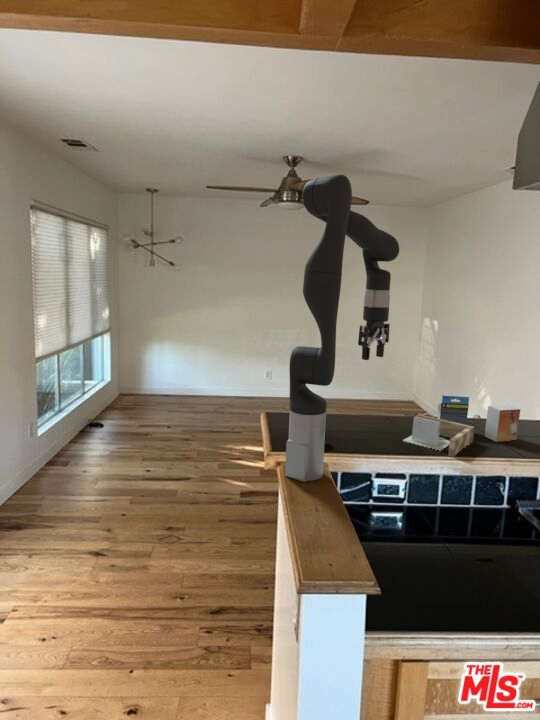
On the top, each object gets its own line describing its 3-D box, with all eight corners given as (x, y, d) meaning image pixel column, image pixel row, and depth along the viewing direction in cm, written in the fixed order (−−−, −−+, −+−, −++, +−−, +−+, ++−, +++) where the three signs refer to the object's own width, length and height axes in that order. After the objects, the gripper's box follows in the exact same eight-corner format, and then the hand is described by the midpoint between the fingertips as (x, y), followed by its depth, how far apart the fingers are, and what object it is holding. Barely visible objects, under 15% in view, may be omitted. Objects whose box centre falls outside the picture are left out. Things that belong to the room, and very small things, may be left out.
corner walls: (452, 457, 146) (454, 440, 145) (393, 441, 157) (395, 426, 156) (472, 441, 159) (474, 426, 158) (417, 428, 170) (418, 414, 169)
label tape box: (462, 428, 171) (466, 393, 169) (465, 432, 167) (469, 397, 165) (435, 427, 172) (439, 392, 170) (438, 431, 168) (442, 395, 166)
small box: (495, 442, 159) (499, 410, 157) (483, 436, 164) (487, 405, 162) (517, 440, 161) (521, 409, 159) (504, 435, 166) (508, 404, 164)
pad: (440, 451, 150) (440, 450, 150) (402, 441, 157) (402, 440, 157) (452, 442, 157) (452, 441, 157) (416, 433, 165) (416, 432, 165)
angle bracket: (411, 440, 157) (413, 417, 156) (419, 435, 162) (421, 413, 161) (436, 446, 152) (438, 422, 151) (444, 441, 157) (446, 418, 156)
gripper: (377, 303, 160) (373, 354, 163) (353, 304, 149) (349, 359, 152) (399, 305, 155) (394, 357, 158) (375, 306, 144) (371, 362, 147)
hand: (372, 358), depth 155 cm, fingers open, 8 cm apart
